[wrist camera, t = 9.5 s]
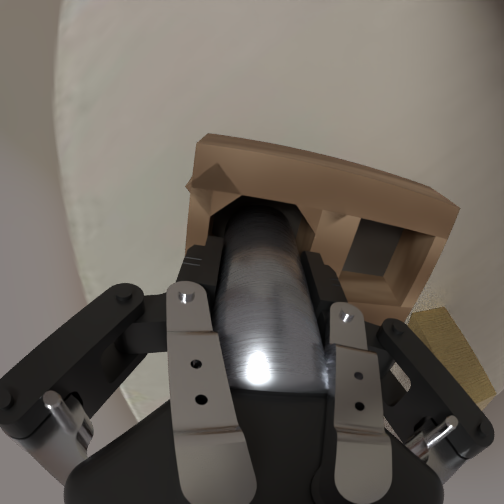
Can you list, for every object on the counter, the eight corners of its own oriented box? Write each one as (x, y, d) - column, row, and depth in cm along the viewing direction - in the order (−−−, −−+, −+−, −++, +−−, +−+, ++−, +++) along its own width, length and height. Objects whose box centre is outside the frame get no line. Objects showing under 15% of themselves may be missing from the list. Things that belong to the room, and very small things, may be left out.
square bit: (412, 313, 21) (461, 410, 13) (444, 306, 21) (496, 394, 12) (401, 341, 23) (440, 433, 14) (432, 335, 23) (474, 418, 14)
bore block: (203, 132, 14) (190, 142, 11) (429, 187, 16) (460, 208, 13) (188, 271, 19) (177, 306, 16) (382, 298, 20) (398, 330, 17)
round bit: (229, 198, 14) (200, 365, 6) (299, 210, 15) (357, 376, 6) (220, 259, 16) (196, 431, 7) (283, 269, 16) (309, 437, 8)
